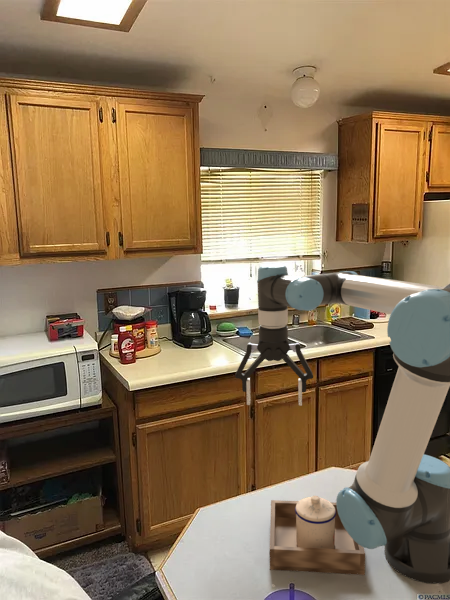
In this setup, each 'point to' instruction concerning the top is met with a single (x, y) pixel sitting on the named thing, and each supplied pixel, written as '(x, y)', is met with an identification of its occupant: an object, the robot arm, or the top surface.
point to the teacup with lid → (315, 523)
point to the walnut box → (293, 558)
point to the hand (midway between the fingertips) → (274, 403)
